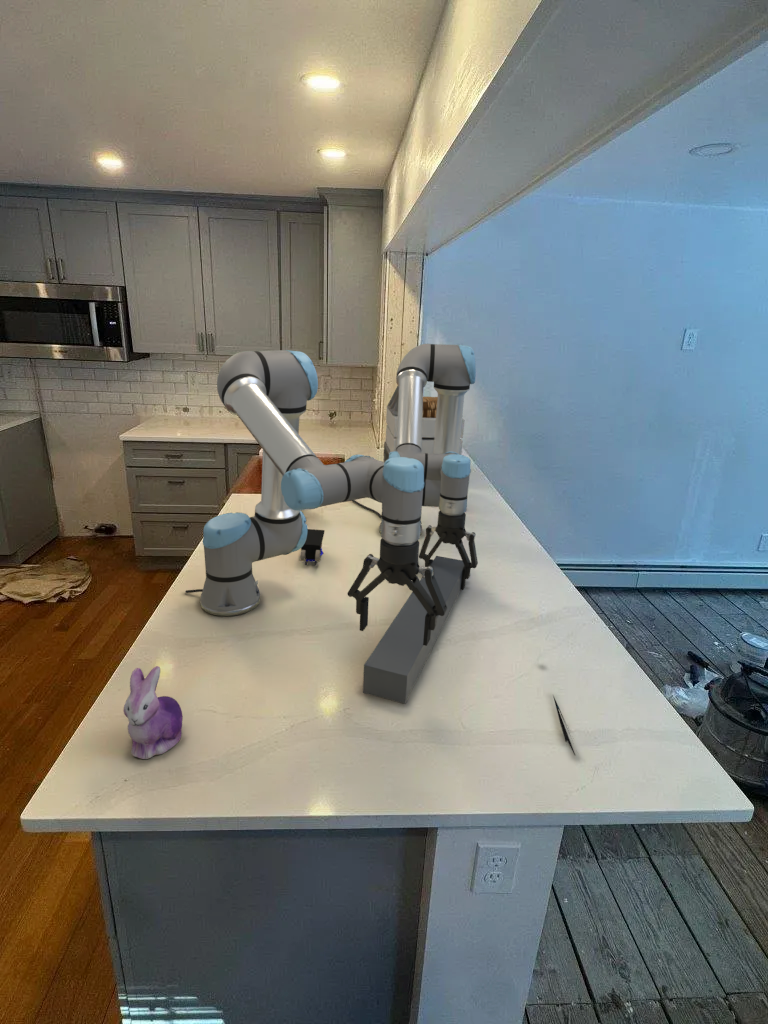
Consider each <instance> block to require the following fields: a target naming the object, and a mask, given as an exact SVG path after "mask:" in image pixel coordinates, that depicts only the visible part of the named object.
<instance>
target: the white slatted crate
mask: <svg viewBox="0 0 768 1024" xmlns="http://www.w3.org/2000/svg"><path fill="white" fill-rule="evenodd" d="M437 398H438V396H423V418H422V452H421V453H428V454H433V451H434V437H435V424H436V411H437ZM398 399H399V386H398V385H397V386H396V388H395V390H394V392H393V394H392V395H391V398H390V400H389V402H388V404H387V405H386V413H385V414H386V415H385V423H386V428H385V438H384V442H383V462H384V463H385V461H386V460H388V459H389V453H390V452H394V451H396V436H397V418H398ZM464 429H465V419H464V418H462V425H461V435H460V446H459V455H462V453H463V442H464V441H463V440H462V439H463V438H464V431H465V430H464Z"/></svg>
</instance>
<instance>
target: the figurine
mask: <svg viewBox="0 0 768 1024" xmlns="http://www.w3.org/2000/svg"><path fill="white" fill-rule="evenodd" d="M160 676H161V668H160V666H159V665H156V666H154V667H152V669H150V671H149V673H148V674H147V676H146V677H145V675H144V672H143V670H142V668H140V667H135V668H134V669H133V670H132V672H131V674H130V679H129V680H130V681H129V690H130V692H129V695H128V696H127V699H126V701H125V702H124V704H123V709H122V711H123V714H124V716H125V717H126V718H127V721H128V724H127V731H128V735H129V737H130V738H131V741H132V746H131V750H130V751H131V752H130V753H131V756H132V757H135V758H138V759H143V760H147V759H151V758H153V757H154V756H157V755H158V756H159V755H163V754H164V753H167V751H169V750H171V749H172V748H173V747H175V745H177V744H178V743H179V742H180V741H181V739H182V734H183V733H182V728H183V710H182V708H181V706H180V703H179V702H178V701H177V700H176V699H175V698H174V697H172V696H168V695H162V696H157V694H156V690H157V687H158V683H159V680H160Z"/></svg>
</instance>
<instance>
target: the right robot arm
mask: <svg viewBox="0 0 768 1024" xmlns="http://www.w3.org/2000/svg"><path fill="white" fill-rule="evenodd" d="M476 365H477V364H476V356H475V351H474V349H473V347H471V346H469V345H463V344H462V345H461V344H443V343H442V344H441V343H439V344H438V343H422V344H419V345H417V346H415V347H413V348H411V349H410V350H409V351H408V352H407V353H405V355H404V356H403V358H402V359H401V361H400V363H399V365H398V367H397V369H396V377H395V382H396V385H397V386H399V399H398V418H397V436H396V451H394V452H390V453H389V459H390V458H394V457H406V458H413V459H416V460H418V461H420V462H421V463H422V464H423V467H424V488H423V498H422V507H431V508H438V510H439V511H438V514H437V524H436V526H432V525H431V524H429V525H427V527H426V528H425V537H424V539H423V542H422V545H421V546H422V547H421V549H420V550H419V556H418V559H420V560H423V561H424V567H428V566H429V565H431V563H432V562H433V560H434V559H432V557H433V556H434V554H435V552H436V551H437V550H438V548H439V547H440V545H441V544H442V543H443V544H449V545H452V546H453V545H454V546H455V548H456V549H457V551H458V554H459V556H460V558H461V559H460V560H462V561H463V563H464V567H463V570H462V580H461V591H464V590H465V588H466V581H467V580H469V578H470V576H471V570H472V569H476V568H477V566H478V564H479V562H478V555H477V548H476V542H475V539H476V535H477V534H476V532H473V531H472V532H469V531H467V530H466V528H465V527H466V519H467V518H466V517H467V514H466V512H467V509H468V508H467V506H468V494H469V484H470V477H471V472H472V469H471V464H472V463H471V459H470V457H468V456H466V455H463V454H461V455H459V446H460V439H461V438H460V435H461V425H462V419H463V414H464V413H463V412H464V403H465V395H466V393H468V392H469V391H470V388H471V385H474V384H475V383H476V377H477V373H476V372H477V367H476ZM427 382H429V383H433V389H434V390H435V391H436V393H437V397H438V398H437V411H436V424H435V437H434V451H433V454H428V453H421V452H422V418H423V397H424V388H425V387H426V386H427ZM351 502H352V503H354V504H356V505H357V506H359V507H361V508H363V509H365V510H367V511H369V512H372V513H374V514H376V515H377V516H378V517H379V518H380V519H381V517H382V516H381V515H382V514H381V513H380V512H378V511H377V510H375V509H374V508H370V507H368V506H366V505H364V504H362V503H360V502H358V501H357V500H352V501H351ZM378 533H379V534H380V535H381V522H379V526H378ZM434 533H436V534H437V537H438V539H437V540H436V542H435V543H434V545H433V547H432V548H431V549H430V550H429V552H428V554H427V550H428V547H429V544H430V542H431V539H432V536H433V535H434ZM422 535H423V525H422V522H421V526H420V537H421V536H422ZM464 537H465V538H466V540H467V542H468V550H469V555H470V558H469V555H468V553H467V550H466V548H465V545H464V542H463V538H464Z"/></svg>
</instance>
